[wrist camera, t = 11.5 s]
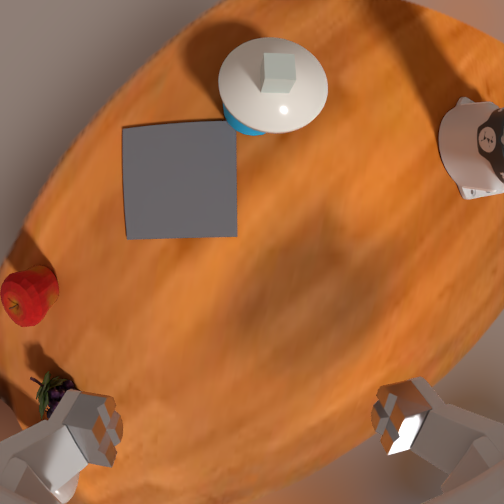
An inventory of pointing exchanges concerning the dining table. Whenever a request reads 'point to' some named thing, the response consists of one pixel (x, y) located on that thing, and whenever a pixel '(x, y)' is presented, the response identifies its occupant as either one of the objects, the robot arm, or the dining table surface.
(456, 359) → the dining table surface
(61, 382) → the fruit
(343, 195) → the dining table surface
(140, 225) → the mat
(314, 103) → the lid
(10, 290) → the apple
